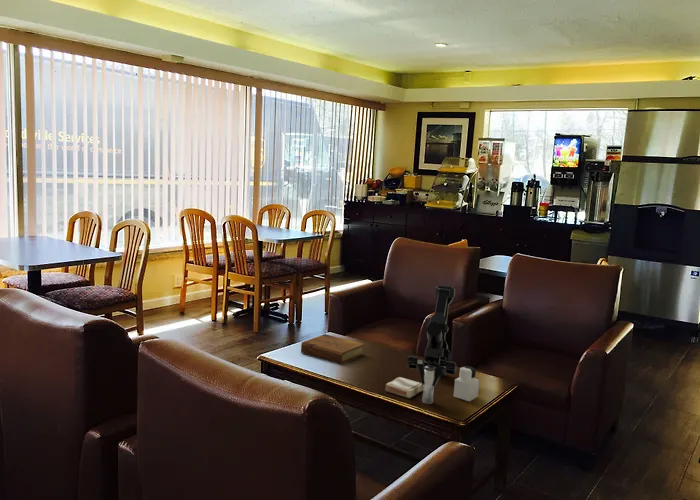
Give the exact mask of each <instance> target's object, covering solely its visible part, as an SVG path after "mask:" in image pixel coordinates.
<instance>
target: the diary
mask: <svg viewBox="0 0 700 500" xmlns="http://www.w3.org/2000/svg"><path fill="white" fill-rule="evenodd" d="M364 346H365V343H362V342H359V341H354V340H351V339H346V338H343V337H339V336H335V335H330V334H326V333H324V334H322V335H319V336H315V337H312V338H310V339H306V340H304V341H302V342H301V343H300V353H301V354H304V355H309V356H311V357H315V358H320V359H322V360H327V361H330V362H334V363H338V364H340V365H342V364H345V363H347V362H349V361H352V360H353V359H356V358H359V357H360V356H363V355H364V352H363V347H364Z"/></svg>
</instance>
